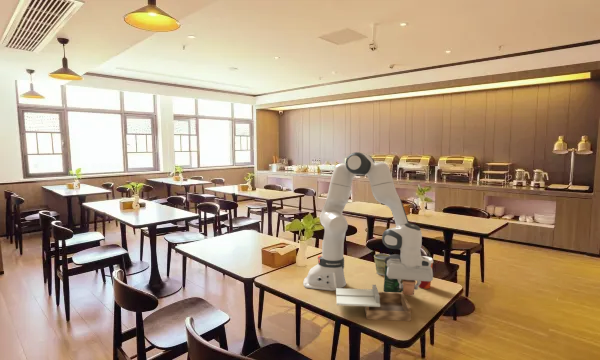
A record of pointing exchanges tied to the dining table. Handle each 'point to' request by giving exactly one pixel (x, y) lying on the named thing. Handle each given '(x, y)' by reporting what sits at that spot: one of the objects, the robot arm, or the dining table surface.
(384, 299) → the wooden box
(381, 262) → the ceramic cup
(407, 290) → the terracotta pot
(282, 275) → the dining table surface
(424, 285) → the coffee cup
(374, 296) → the lid
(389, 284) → the coffee jar
